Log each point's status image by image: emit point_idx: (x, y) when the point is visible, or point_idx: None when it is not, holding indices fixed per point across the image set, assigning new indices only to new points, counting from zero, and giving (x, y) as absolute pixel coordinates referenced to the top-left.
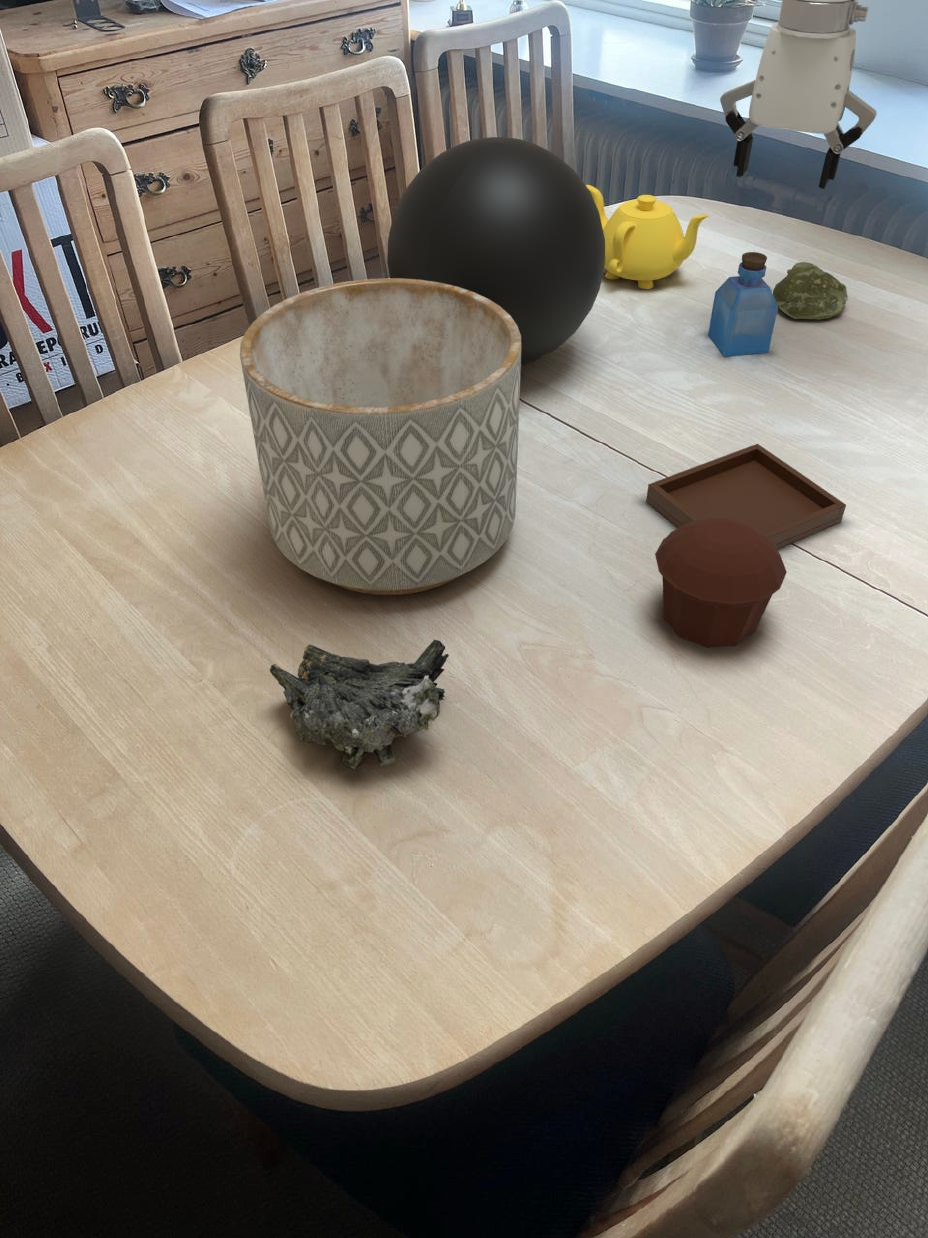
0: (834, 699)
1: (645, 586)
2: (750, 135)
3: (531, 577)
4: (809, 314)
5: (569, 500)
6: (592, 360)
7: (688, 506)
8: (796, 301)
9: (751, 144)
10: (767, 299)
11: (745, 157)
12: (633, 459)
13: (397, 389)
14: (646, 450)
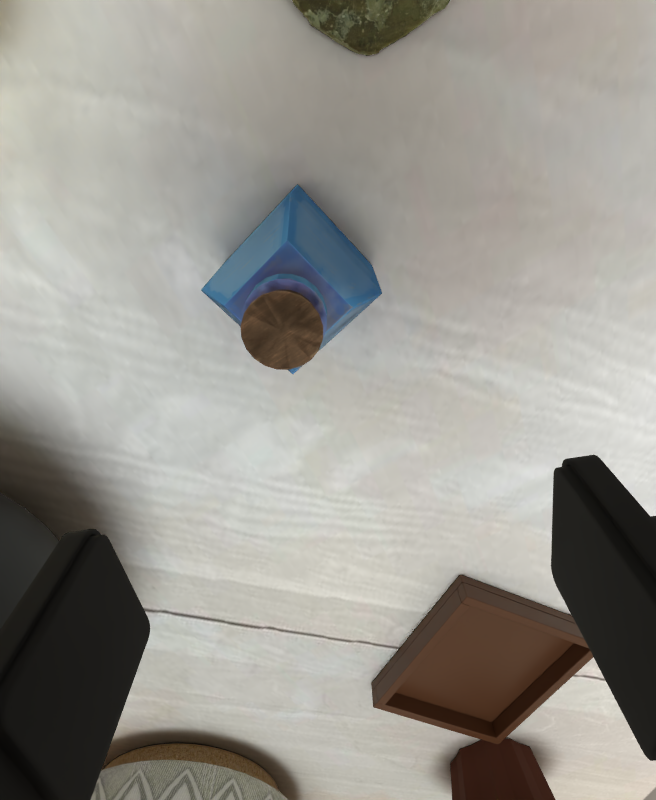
0: (610, 781)
1: (426, 758)
2: (4, 788)
3: (330, 785)
4: (409, 26)
5: (297, 711)
6: (109, 470)
7: (422, 686)
8: (361, 3)
9: (39, 675)
10: (354, 312)
11: (115, 725)
12: (319, 635)
13: None
14: (323, 615)
